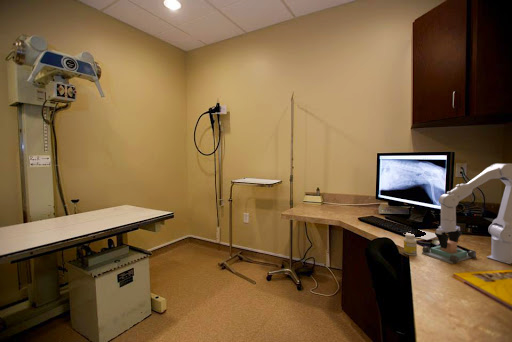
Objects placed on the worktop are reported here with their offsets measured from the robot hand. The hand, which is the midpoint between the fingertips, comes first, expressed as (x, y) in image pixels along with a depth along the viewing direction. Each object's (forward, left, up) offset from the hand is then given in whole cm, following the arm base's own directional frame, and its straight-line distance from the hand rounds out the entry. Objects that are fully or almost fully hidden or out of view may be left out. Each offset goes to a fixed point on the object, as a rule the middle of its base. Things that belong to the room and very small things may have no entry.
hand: (448, 246), depth 116 cm
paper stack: (-16, -21, -5) cm, 27 cm away
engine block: (0, 0, -3) cm, 3 cm away
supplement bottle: (+14, -9, -4) cm, 17 cm away
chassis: (0, 0, -4) cm, 4 cm away
